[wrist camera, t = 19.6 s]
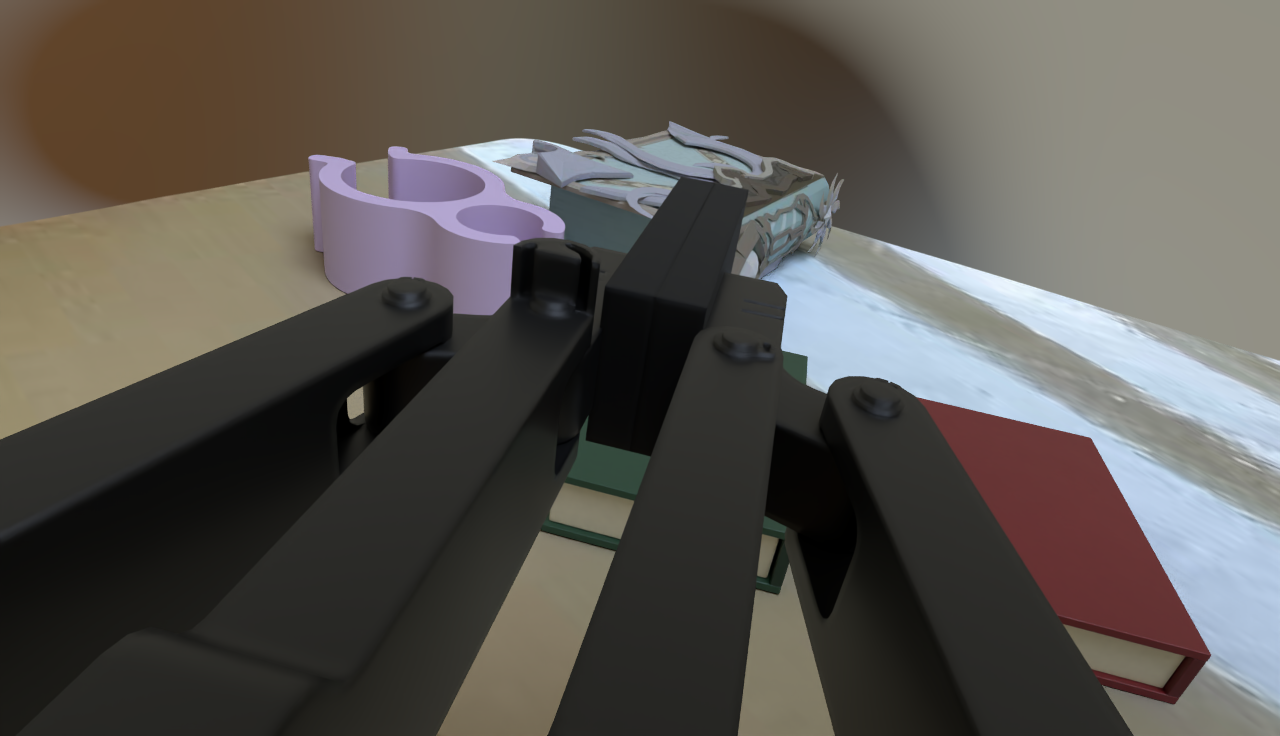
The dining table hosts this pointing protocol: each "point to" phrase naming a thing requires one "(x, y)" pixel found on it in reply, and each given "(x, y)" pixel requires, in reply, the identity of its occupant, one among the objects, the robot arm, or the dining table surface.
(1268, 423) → the dining table surface
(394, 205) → the clip
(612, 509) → the green book
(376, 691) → the robot arm
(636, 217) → the ornate book
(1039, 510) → the burgundy book
